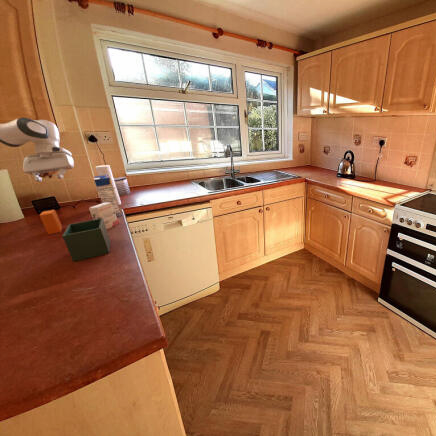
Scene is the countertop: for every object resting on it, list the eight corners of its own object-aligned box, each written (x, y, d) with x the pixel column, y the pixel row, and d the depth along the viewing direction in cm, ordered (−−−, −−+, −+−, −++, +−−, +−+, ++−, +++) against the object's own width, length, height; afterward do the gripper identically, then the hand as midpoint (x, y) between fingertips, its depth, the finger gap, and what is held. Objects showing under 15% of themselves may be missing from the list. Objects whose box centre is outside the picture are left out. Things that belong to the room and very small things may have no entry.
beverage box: (107, 218, 135) (94, 179, 126) (106, 213, 143) (93, 176, 134) (121, 215, 139) (109, 177, 130) (119, 210, 147) (108, 174, 138)
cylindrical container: (106, 205, 158) (93, 166, 148) (118, 202, 163) (106, 164, 154) (110, 207, 154) (97, 167, 145) (123, 203, 159) (111, 165, 150)
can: (119, 196, 176) (114, 180, 172) (109, 195, 180) (104, 179, 176) (134, 192, 186) (129, 176, 182) (124, 191, 190) (119, 176, 186)
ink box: (111, 223, 128) (104, 201, 124) (119, 223, 127) (112, 202, 123) (96, 230, 121) (87, 207, 116) (104, 230, 120) (96, 207, 115)
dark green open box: (73, 261, 93) (62, 236, 89) (78, 248, 103) (68, 224, 99) (109, 252, 99) (100, 228, 94) (110, 240, 109) (102, 218, 105)
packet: (48, 234, 117) (39, 215, 114) (50, 230, 122) (42, 211, 118) (60, 232, 120) (52, 213, 116) (62, 228, 124) (54, 209, 121)
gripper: (18, 153, 115) (18, 180, 113) (65, 147, 118) (67, 174, 116) (30, 158, 122) (31, 185, 119) (75, 153, 124) (77, 178, 122)
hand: (49, 179), depth 118 cm, fingers open, 8 cm apart
